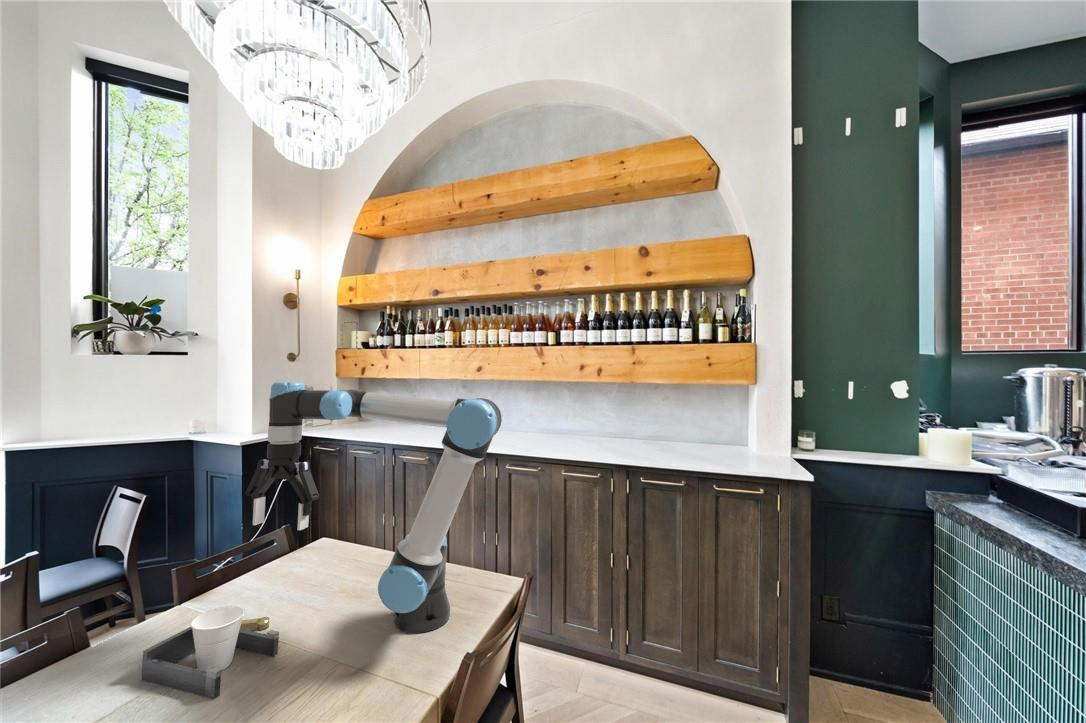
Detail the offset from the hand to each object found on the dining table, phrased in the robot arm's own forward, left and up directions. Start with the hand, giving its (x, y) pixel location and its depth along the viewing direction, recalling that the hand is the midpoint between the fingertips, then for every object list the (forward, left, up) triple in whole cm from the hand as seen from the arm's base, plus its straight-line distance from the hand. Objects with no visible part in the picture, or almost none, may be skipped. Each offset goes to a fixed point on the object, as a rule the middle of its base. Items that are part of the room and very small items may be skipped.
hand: (280, 526), depth 109 cm
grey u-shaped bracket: (+4, +12, -28) cm, 31 cm away
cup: (+4, +11, -29) cm, 31 cm away
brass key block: (+10, -2, -28) cm, 30 cm away
